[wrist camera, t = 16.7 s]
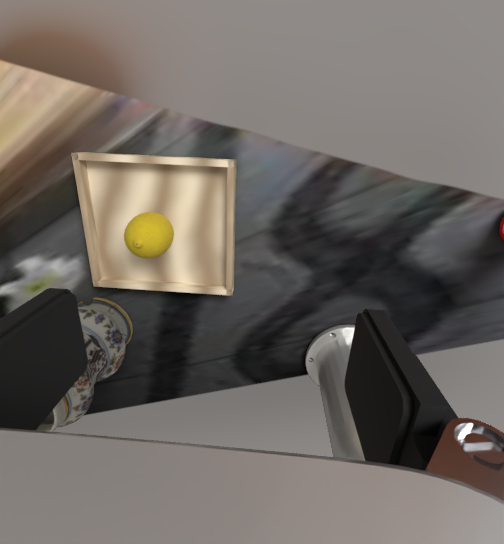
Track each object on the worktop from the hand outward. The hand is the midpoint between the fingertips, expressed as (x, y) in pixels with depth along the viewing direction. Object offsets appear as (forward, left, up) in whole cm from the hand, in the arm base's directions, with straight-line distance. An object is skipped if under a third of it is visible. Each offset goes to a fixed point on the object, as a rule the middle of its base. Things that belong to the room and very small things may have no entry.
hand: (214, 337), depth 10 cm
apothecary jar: (+24, +22, -34) cm, 47 cm away
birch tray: (+13, +5, -33) cm, 36 cm away
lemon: (+13, +5, -32) cm, 35 cm away
